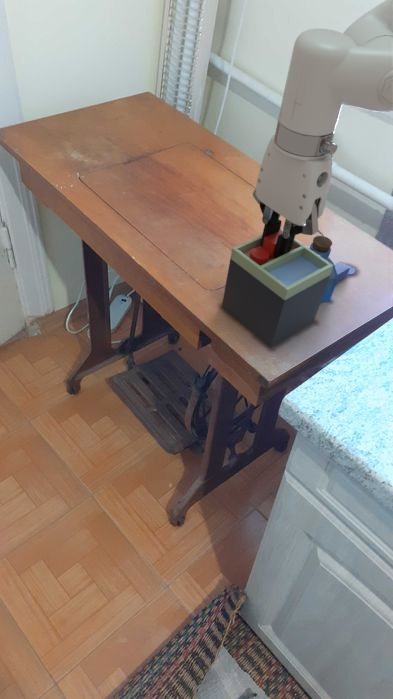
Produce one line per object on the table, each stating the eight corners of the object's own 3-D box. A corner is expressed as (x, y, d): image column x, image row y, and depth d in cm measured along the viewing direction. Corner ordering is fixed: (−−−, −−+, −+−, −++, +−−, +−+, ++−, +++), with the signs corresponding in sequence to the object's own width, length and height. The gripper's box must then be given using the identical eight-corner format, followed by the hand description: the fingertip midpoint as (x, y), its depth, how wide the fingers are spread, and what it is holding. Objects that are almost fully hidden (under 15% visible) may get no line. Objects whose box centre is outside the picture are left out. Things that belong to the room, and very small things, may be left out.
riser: (263, 288, 97) (276, 237, 89) (312, 325, 92) (330, 275, 84) (221, 310, 92) (230, 258, 84) (269, 351, 87) (284, 300, 79)
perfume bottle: (281, 288, 98) (297, 233, 89) (311, 283, 100) (328, 228, 91) (298, 311, 94) (316, 255, 85) (328, 304, 96) (348, 249, 87)
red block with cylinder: (275, 243, 87) (280, 228, 85) (289, 252, 86) (293, 238, 84) (245, 256, 84) (248, 241, 82) (258, 266, 82) (262, 251, 80)
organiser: (276, 237, 89) (278, 227, 88) (330, 275, 84) (333, 265, 82) (230, 258, 84) (232, 248, 83) (284, 300, 79) (287, 290, 77)
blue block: (333, 288, 99) (338, 276, 97) (321, 279, 101) (325, 267, 99) (357, 275, 103) (361, 263, 101) (344, 266, 104) (349, 255, 102)
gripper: (367, 155, 70) (328, 268, 83) (279, 108, 78) (256, 217, 91) (331, 170, 66) (296, 285, 80) (242, 118, 74) (223, 231, 87)
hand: (275, 248), depth 85 cm, fingers closed, pressing on organiser, red spoon
